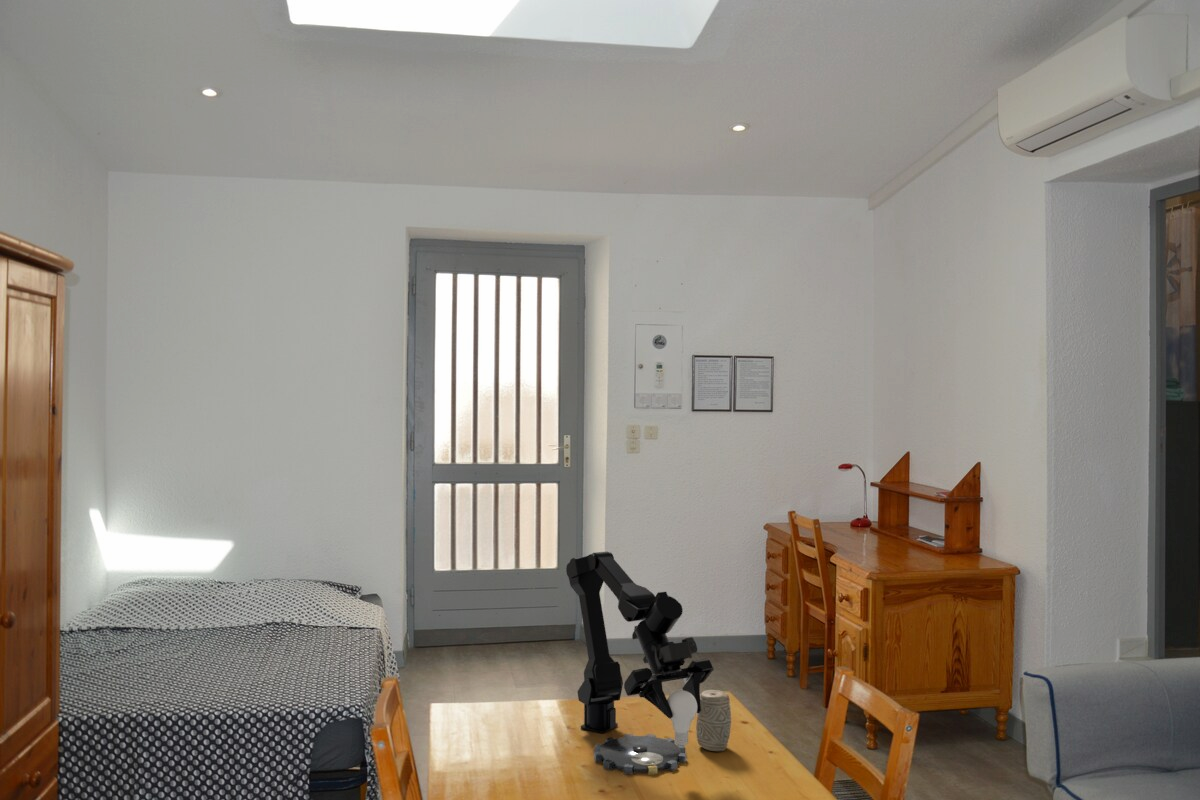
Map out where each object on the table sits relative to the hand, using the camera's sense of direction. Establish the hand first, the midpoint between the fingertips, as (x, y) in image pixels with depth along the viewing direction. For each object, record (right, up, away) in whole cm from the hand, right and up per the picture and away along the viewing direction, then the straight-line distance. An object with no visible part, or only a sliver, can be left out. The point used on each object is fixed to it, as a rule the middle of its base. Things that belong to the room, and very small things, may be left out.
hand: (685, 714), depth 193 cm
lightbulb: (-1, -7, +1) cm, 7 cm away
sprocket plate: (-8, -13, +13) cm, 20 cm away
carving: (+8, -13, +18) cm, 24 cm away
